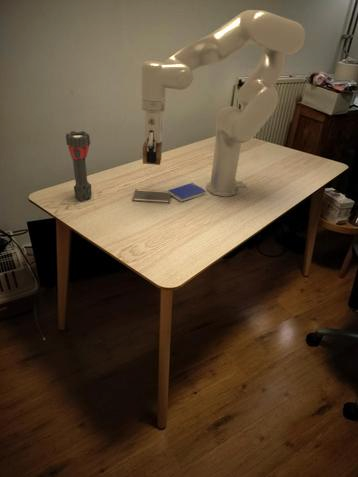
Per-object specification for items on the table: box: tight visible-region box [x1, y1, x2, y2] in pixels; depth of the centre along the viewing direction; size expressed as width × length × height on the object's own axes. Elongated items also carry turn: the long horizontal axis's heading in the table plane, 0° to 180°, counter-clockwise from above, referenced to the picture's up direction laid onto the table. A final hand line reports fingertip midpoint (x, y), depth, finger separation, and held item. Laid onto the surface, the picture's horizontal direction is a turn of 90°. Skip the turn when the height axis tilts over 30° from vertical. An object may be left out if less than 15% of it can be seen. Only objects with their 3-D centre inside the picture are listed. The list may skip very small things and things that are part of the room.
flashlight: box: [65, 130, 92, 202], centre depth 115 cm, size 8×8×23 cm
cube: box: [142, 140, 163, 166], centre depth 114 cm, size 6×6×6 cm
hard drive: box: [167, 182, 207, 202], centre depth 127 cm, size 2×8×12 cm
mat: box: [131, 188, 172, 205], centre depth 124 cm, size 14×9×1 cm, turn 89°
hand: (152, 158), depth 116 cm, fingers closed on cube, 6 cm apart
